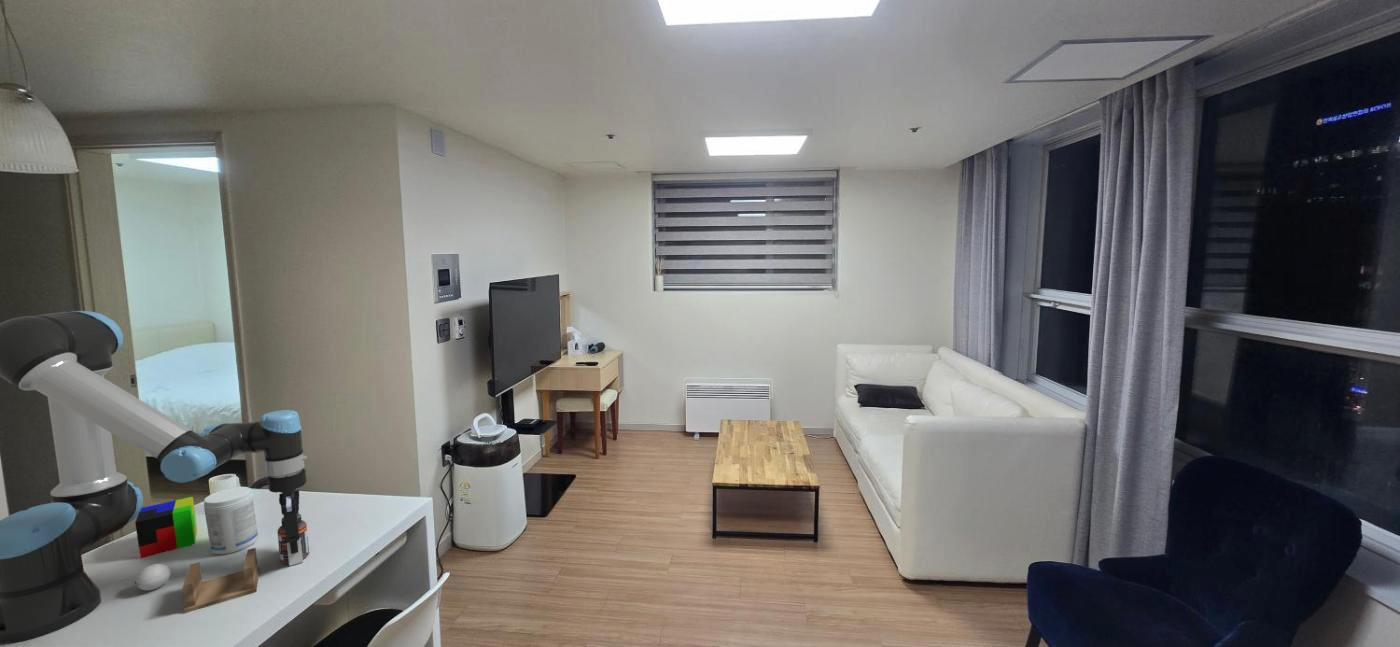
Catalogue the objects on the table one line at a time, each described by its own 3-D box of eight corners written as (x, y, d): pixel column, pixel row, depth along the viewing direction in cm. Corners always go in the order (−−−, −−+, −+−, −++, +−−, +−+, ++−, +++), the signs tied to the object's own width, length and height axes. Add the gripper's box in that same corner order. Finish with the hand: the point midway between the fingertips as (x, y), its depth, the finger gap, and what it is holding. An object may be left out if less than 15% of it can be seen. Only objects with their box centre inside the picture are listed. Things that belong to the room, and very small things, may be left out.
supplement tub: (258, 532, 145) (253, 482, 143) (258, 547, 138) (251, 495, 136) (211, 544, 139) (205, 492, 137) (208, 560, 131) (201, 506, 130)
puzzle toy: (145, 542, 140) (140, 507, 138) (197, 529, 146) (192, 496, 145) (140, 558, 132) (135, 522, 131) (194, 544, 139) (190, 509, 137)
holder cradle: (184, 613, 112) (180, 587, 111) (192, 587, 121) (189, 563, 120) (256, 591, 119) (253, 567, 119) (259, 568, 128) (257, 546, 127)
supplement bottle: (280, 567, 128) (275, 525, 127) (280, 557, 133) (275, 516, 131) (310, 559, 132) (306, 517, 131) (309, 548, 137) (304, 508, 135)
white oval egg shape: (177, 578, 124) (174, 556, 123) (162, 592, 119) (159, 570, 118) (136, 585, 122) (132, 563, 121) (118, 600, 116) (115, 577, 116)
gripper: (305, 481, 124) (315, 569, 127) (305, 456, 139) (313, 536, 142) (264, 489, 120) (276, 581, 123) (269, 463, 135) (279, 545, 138)
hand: (296, 556), depth 133 cm, fingers open, 6 cm apart
